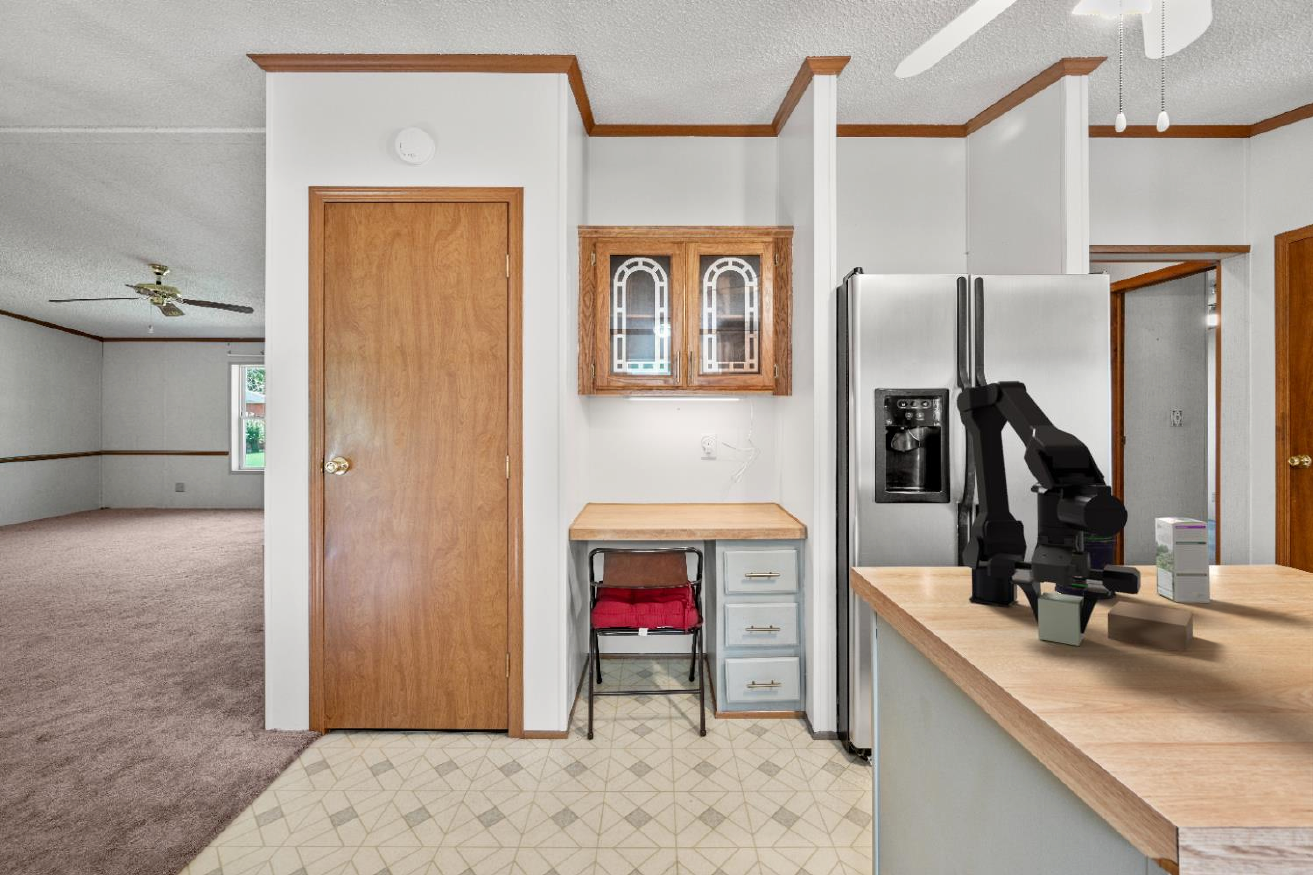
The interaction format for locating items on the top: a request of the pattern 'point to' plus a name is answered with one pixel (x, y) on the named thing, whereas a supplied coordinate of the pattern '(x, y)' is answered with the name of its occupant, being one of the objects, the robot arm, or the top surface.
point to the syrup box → (1182, 559)
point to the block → (1151, 625)
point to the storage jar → (1093, 563)
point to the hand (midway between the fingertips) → (1061, 629)
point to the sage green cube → (1060, 618)
